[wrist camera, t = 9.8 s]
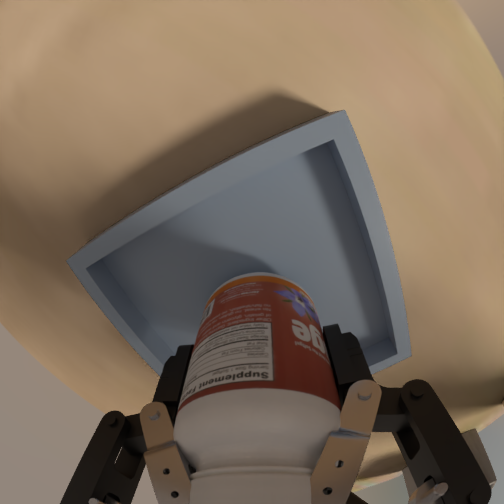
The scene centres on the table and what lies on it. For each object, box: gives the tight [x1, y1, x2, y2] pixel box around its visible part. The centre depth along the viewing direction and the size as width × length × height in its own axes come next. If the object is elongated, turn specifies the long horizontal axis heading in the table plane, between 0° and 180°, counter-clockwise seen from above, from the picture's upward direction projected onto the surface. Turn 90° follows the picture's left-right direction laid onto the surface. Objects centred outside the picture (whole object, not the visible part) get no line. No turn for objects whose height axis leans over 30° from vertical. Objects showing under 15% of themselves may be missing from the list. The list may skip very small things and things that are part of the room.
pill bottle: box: [173, 272, 342, 504], centre depth 10 cm, size 6×6×11 cm
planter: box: [402, 429, 496, 498], centre depth 23 cm, size 16×8×19 cm, turn 129°
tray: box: [66, 110, 412, 376], centre depth 16 cm, size 16×16×2 cm
